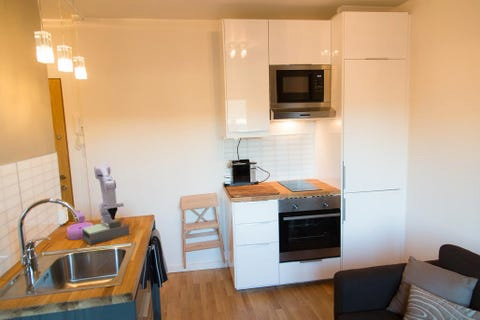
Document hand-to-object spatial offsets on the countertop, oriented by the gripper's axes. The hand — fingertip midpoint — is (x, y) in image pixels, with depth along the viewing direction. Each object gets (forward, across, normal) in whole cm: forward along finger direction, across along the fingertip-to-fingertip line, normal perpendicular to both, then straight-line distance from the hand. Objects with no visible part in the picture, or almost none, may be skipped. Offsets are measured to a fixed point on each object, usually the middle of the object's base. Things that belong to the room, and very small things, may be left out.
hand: (113, 219), depth 200 cm
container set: (+11, -15, +21) cm, 28 cm away
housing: (+10, -5, 0) cm, 12 cm away
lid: (+4, -11, 0) cm, 12 cm away
